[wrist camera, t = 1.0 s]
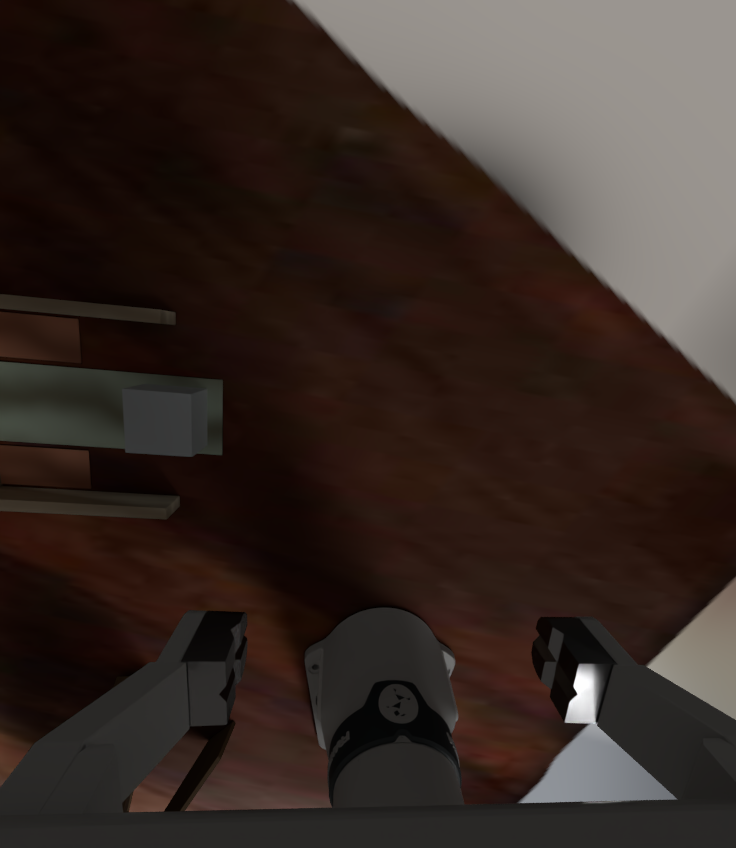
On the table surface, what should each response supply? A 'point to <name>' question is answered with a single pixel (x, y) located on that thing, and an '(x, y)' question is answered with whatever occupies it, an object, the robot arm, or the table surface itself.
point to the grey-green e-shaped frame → (74, 411)
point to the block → (165, 419)
